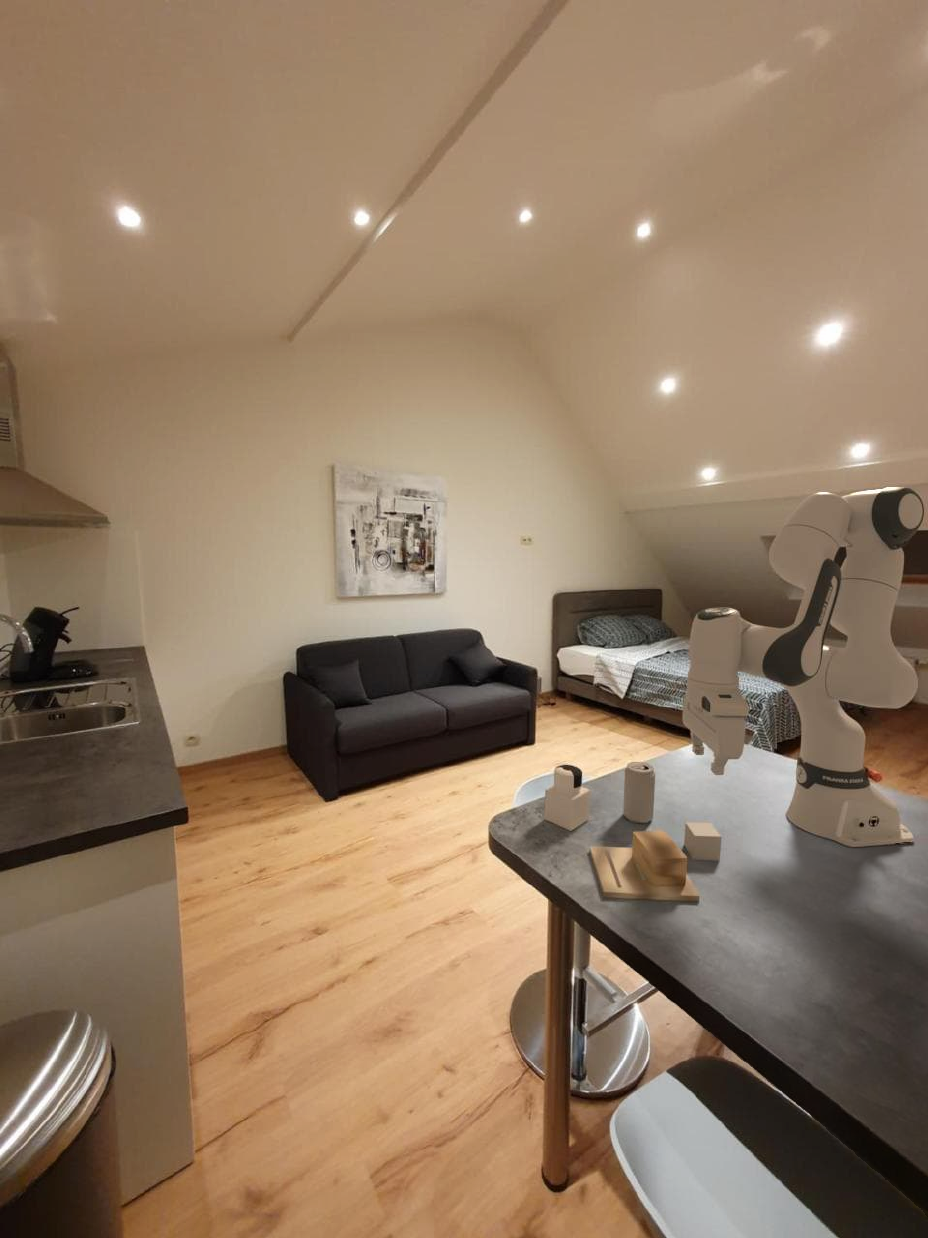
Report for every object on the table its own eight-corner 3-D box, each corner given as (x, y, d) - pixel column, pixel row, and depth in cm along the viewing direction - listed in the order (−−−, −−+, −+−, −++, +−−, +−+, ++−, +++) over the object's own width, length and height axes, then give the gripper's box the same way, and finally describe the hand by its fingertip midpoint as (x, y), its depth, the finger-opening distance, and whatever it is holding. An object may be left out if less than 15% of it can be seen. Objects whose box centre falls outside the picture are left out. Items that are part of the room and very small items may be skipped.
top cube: (709, 846, 106) (711, 823, 106) (719, 860, 101) (721, 836, 101) (684, 845, 107) (685, 822, 106) (693, 860, 102) (694, 835, 101)
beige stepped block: (562, 808, 121) (564, 759, 120) (589, 820, 116) (591, 768, 115) (543, 819, 116) (545, 768, 115) (571, 832, 111) (572, 778, 110)
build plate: (672, 854, 103) (672, 849, 103) (699, 901, 89) (699, 895, 89) (589, 851, 104) (589, 846, 104) (603, 897, 90) (604, 891, 90)
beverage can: (655, 826, 114) (657, 773, 112) (624, 823, 115) (626, 771, 113) (650, 812, 120) (653, 761, 118) (621, 809, 121) (623, 759, 119)
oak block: (662, 854, 101) (663, 830, 101) (685, 884, 92) (687, 857, 92) (631, 856, 101) (633, 831, 100) (652, 886, 92) (654, 859, 91)
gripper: (676, 679, 110) (672, 743, 112) (716, 709, 90) (711, 786, 92) (707, 680, 110) (703, 744, 112) (754, 710, 89) (748, 787, 91)
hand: (707, 763), depth 101 cm, fingers open, 8 cm apart
